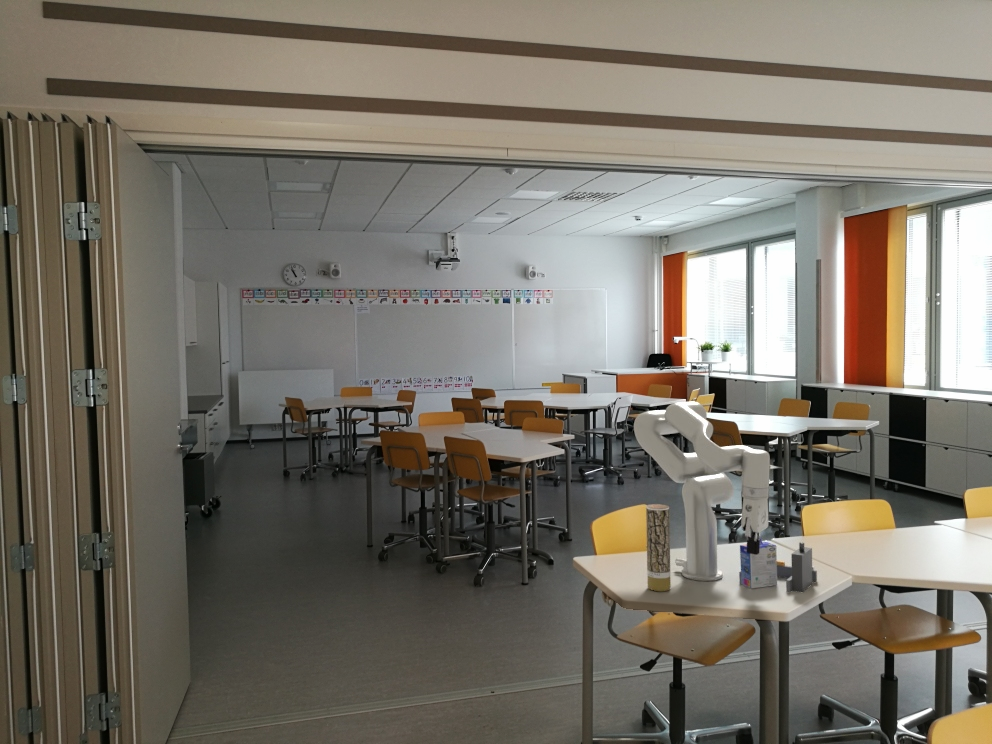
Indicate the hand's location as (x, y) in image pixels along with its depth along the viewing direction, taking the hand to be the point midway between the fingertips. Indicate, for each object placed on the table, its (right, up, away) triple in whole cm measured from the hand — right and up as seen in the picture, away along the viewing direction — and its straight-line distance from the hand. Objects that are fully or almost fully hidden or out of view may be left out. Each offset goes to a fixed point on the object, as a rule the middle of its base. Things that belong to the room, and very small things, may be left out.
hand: (752, 553), depth 211 cm
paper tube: (-27, -12, +5) cm, 30 cm away
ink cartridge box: (+4, -12, +7) cm, 14 cm away
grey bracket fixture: (+11, -11, +8) cm, 18 cm away
